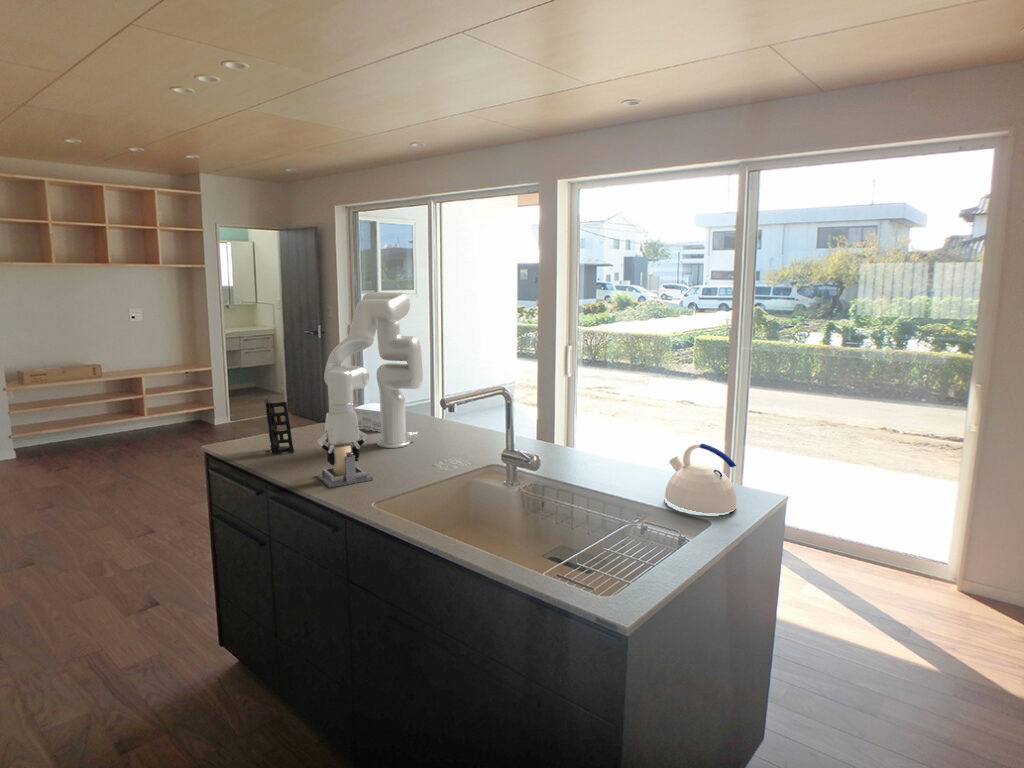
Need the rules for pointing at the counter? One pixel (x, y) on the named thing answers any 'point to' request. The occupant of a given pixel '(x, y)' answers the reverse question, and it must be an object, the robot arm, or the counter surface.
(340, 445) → the paper roll
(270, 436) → the holder
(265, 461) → the counter surface
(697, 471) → the kettle
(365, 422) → the supplement box
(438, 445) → the counter surface
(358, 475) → the stand
